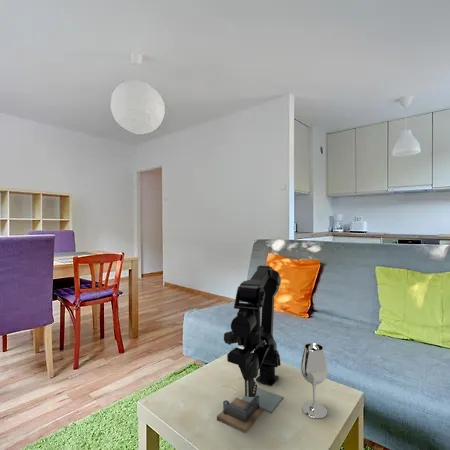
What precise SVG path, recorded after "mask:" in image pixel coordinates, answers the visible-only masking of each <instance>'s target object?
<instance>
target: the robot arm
mask: <svg viewBox="0 0 450 450" xmlns="http://www.w3.org/2000/svg"><path fill="white" fill-rule="evenodd" d="M281 279H282V278H281V275H280V273H279V272H278V271H276V270H275V269H274V268H273V267H272V266H271V265H257V267H256V271H255V272H254V273H253V274H252V276H251V277H250V279H247V280H243V281H242V282H240V284H239V286H237V288H236V294H235V300H234V305H233V309H236V310H238V311H237V313H236V316H235V317H234V318H233V319H232V321H231V323H230V329H231V330H230V331H226V332H224V333H223V341H224V343H225V344H227V345H228V346H229V345H232V344H237V346H240V347H243V348H239V347H234V348H233V349H231V350H230V351H229V352H228V353H227V354H226V358H227V362H228V363H231V364H233V365H238V368H239V369H240V373H241V375H242V378H243V380H244V381H245V380H246V381H247V380H248V378H249V375H250V371H251V368H252V364H253V361H252V360H251V359H252V355H251V353H257V354H258V357H259V376H258V375H257V377H256V378H255V380H256V381H257V382H260V383H261V384H266V385H268V386H271V387H272V386H273V385H274V384H275V383H276V382H277V381H278V380H279V376H278V375H276V368H278V367H280V366H281V356H280V353H279V350H278V344H277V343H276V342H277V341H276V340H275V339H274V313H275V297H276V295H277V293H278V292H279V291H280V287H281ZM256 381H255V382H256Z"/></svg>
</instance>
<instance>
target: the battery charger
mask: <svg viewBox="0 0 450 450" xmlns="http://www.w3.org/2000/svg"><path fill="white" fill-rule="evenodd" d="M251 355H252V359H251V360H252V361H253V364H252V368H251V371H250V375H249V378H248V380H247V381H246V380H244V396H246V397H255V395H256V391H257V387H258V384H257V383H256V381H255V379H256V378H257V377H258V374H259V371H260V369H259V357H258V354H257V353H254V352H252V353H251Z"/></svg>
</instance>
